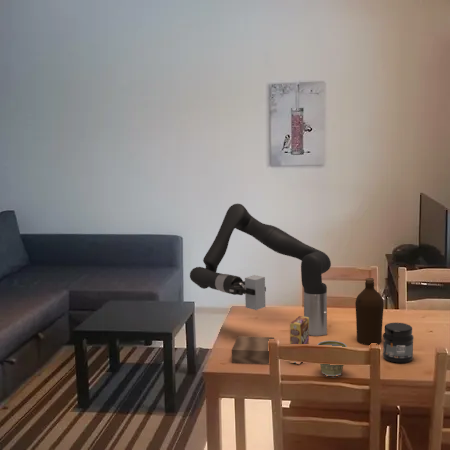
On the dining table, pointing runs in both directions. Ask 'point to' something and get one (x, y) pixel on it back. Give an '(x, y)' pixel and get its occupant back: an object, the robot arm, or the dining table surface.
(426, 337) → the dining table surface
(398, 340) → the supplement container
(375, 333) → the olive oil
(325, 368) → the ceramic cup
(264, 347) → the walnut plinth
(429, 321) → the dining table surface
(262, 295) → the grey block
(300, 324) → the candy box
